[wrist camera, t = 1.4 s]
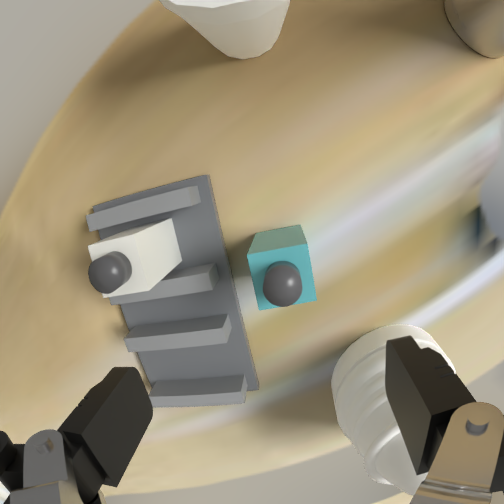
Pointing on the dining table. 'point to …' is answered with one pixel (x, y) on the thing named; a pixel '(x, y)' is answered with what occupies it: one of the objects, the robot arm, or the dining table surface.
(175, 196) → the comb board
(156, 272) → the white plug
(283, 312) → the dining table surface
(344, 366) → the honey pot
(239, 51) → the foam cup
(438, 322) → the dining table surface
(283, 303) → the teal plug
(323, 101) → the dining table surface
